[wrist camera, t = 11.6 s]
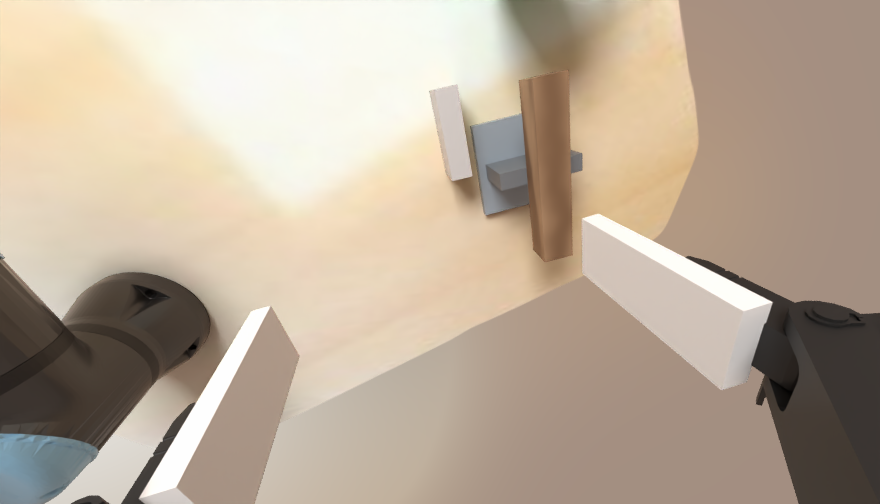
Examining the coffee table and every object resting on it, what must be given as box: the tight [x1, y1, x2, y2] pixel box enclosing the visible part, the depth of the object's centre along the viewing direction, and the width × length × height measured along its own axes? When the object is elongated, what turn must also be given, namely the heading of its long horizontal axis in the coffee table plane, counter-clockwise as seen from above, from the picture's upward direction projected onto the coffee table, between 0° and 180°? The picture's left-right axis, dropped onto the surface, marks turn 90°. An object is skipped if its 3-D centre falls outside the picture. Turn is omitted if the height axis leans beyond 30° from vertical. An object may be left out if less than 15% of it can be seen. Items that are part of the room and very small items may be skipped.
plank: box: [519, 70, 573, 262], centre depth 36 cm, size 4×20×4 cm, turn 12°
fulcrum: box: [470, 114, 582, 215], centre depth 40 cm, size 12×12×7 cm
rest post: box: [429, 85, 472, 181], centre depth 38 cm, size 2×10×5 cm, turn 12°
